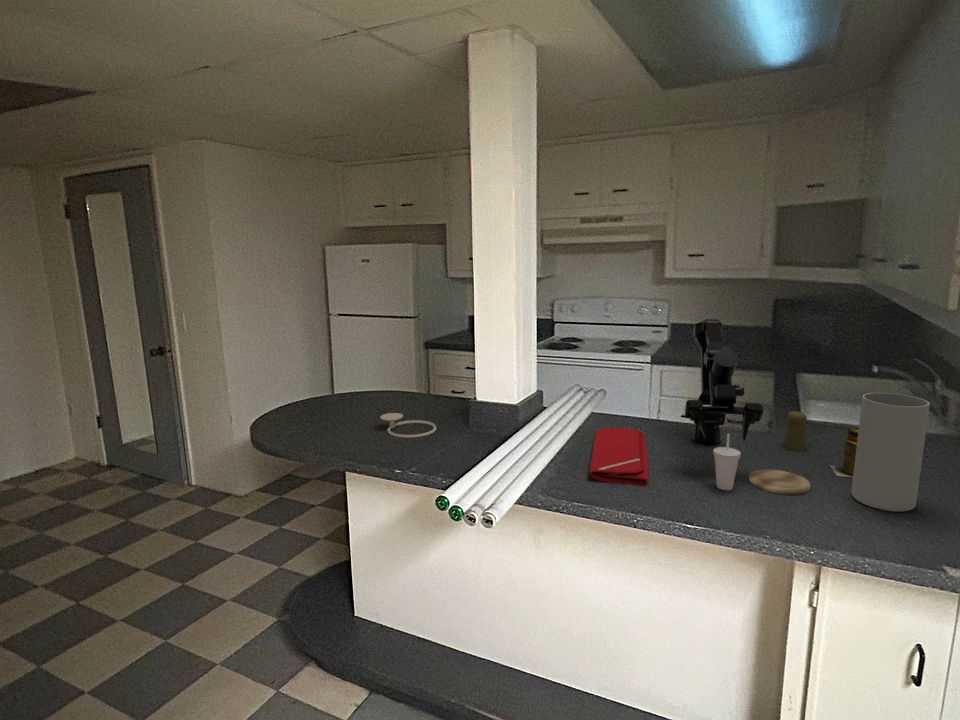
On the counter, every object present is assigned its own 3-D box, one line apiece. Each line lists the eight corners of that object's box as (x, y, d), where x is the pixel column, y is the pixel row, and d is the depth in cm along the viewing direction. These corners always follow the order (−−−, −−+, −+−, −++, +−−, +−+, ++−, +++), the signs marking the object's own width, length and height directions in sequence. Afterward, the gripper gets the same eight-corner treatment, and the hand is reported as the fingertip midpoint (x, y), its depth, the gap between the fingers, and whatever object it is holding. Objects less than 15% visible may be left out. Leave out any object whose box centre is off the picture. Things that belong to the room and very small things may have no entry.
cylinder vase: (839, 495, 138) (850, 396, 133) (872, 486, 142) (884, 390, 138) (893, 517, 126) (907, 409, 121) (927, 506, 131) (942, 402, 126)
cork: (782, 449, 170) (785, 413, 168) (782, 442, 175) (785, 408, 173) (805, 452, 167) (809, 416, 165) (805, 445, 172) (808, 410, 170)
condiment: (874, 479, 147) (879, 435, 144) (837, 476, 149) (841, 433, 147) (865, 469, 153) (869, 427, 151) (829, 466, 156) (833, 424, 154)
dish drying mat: (645, 437, 184) (645, 426, 184) (649, 487, 146) (649, 474, 145) (596, 434, 188) (596, 423, 188) (587, 482, 150) (587, 469, 149)
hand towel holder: (420, 428, 183) (367, 422, 191) (421, 441, 184) (368, 434, 192) (444, 414, 198) (394, 408, 207) (445, 426, 199) (395, 420, 207)
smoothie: (740, 485, 145) (744, 433, 142) (736, 494, 139) (740, 440, 137) (713, 480, 148) (716, 429, 145) (708, 489, 143) (712, 436, 140)
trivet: (737, 481, 147) (738, 477, 147) (766, 468, 155) (766, 465, 155) (792, 499, 136) (792, 495, 136) (820, 485, 144) (820, 481, 143)
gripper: (687, 370, 150) (689, 421, 142) (764, 372, 145) (771, 426, 137) (683, 392, 159) (685, 442, 151) (756, 395, 154) (761, 446, 146)
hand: (724, 439), depth 146 cm, fingers open, 9 cm apart
